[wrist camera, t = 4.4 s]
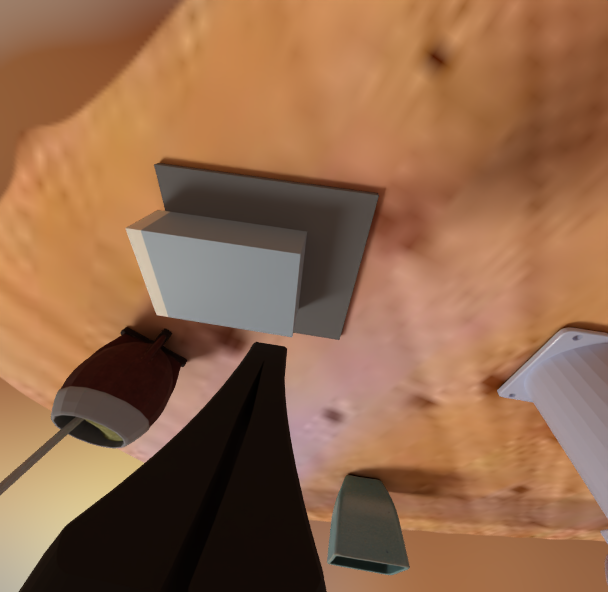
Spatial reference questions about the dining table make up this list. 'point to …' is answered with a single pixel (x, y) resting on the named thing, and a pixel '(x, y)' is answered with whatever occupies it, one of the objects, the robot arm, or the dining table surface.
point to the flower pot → (366, 529)
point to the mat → (291, 215)
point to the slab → (221, 270)
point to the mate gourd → (112, 395)
